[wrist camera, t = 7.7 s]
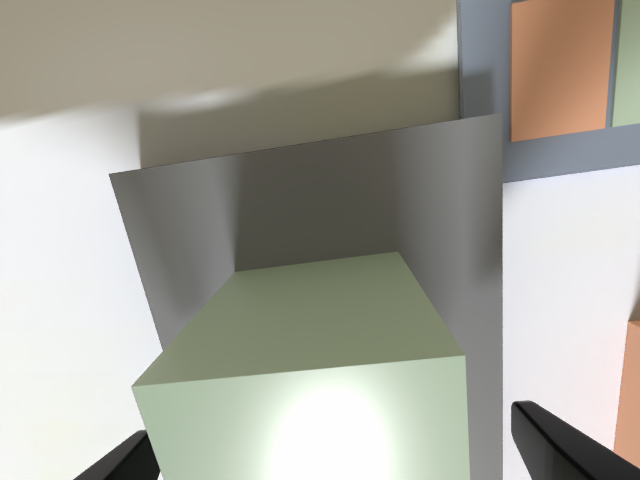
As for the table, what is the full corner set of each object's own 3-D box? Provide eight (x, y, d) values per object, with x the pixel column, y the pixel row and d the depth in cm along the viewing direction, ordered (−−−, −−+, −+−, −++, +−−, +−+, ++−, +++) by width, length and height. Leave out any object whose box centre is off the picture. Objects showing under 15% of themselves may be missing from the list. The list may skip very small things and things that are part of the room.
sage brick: (415, 441, 11) (477, 667, 6) (276, 451, 11) (230, 669, 7) (398, 251, 9) (465, 355, 4) (234, 272, 10) (131, 386, 5)
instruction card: (736, 149, 9) (753, 149, 9) (462, 187, 10) (467, 188, 10) (780, -95, 8) (803, -108, 7) (455, -30, 9) (461, -39, 8)
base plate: (484, 474, 13) (502, 514, 12) (229, 488, 14) (217, 527, 12) (477, 119, 10) (502, 112, 8) (140, 171, 11) (108, 173, 9)
